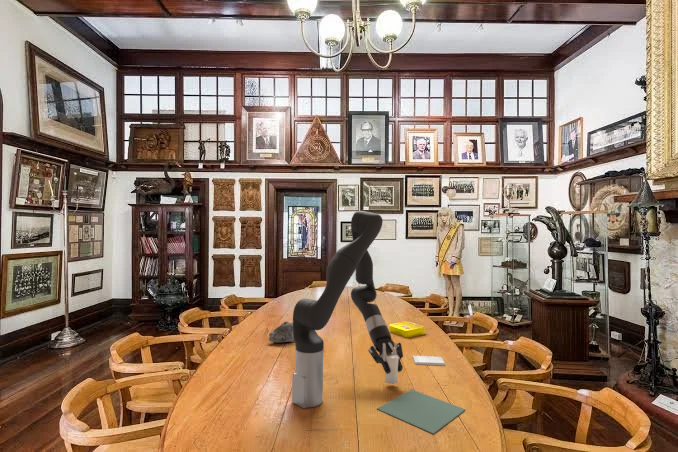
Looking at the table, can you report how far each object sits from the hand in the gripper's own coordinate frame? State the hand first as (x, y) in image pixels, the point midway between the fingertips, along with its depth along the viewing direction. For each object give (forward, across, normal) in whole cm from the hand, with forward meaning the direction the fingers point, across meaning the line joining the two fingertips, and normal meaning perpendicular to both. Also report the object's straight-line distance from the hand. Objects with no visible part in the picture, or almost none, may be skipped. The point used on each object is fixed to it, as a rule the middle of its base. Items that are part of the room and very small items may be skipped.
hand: (394, 371), depth 135 cm
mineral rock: (-43, -20, +52) cm, 70 cm away
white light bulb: (+2, 0, +4) cm, 5 cm away
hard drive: (-7, +29, +16) cm, 34 cm away
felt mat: (+16, -2, -8) cm, 18 cm away
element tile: (-36, +48, +44) cm, 74 cm away
